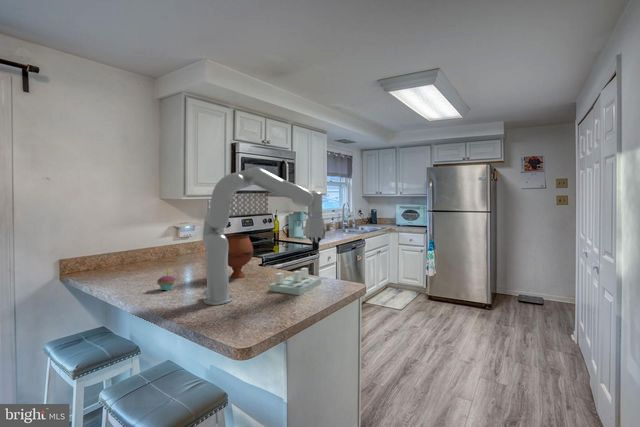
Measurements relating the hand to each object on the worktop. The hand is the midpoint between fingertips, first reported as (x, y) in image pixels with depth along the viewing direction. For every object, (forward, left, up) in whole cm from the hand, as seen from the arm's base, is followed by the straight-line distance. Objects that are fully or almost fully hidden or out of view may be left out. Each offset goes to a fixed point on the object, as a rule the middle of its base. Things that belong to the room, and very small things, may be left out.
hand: (315, 249), depth 174 cm
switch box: (-8, -8, -19) cm, 22 cm away
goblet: (-51, -4, -19) cm, 55 cm away
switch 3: (-7, 0, -16) cm, 17 cm away
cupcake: (-67, -40, -19) cm, 80 cm away
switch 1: (-13, -15, -16) cm, 25 cm away
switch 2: (-7, -8, -16) cm, 19 cm away
